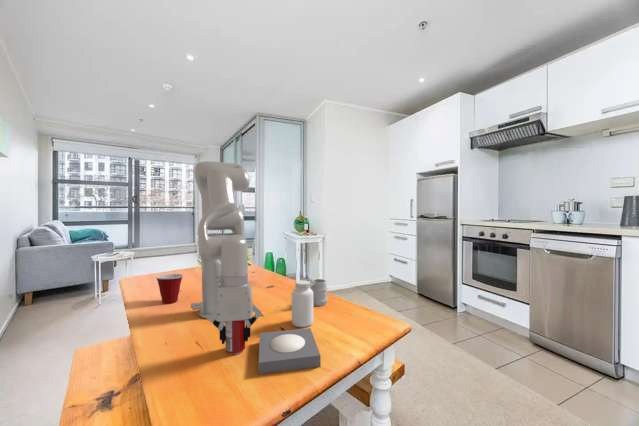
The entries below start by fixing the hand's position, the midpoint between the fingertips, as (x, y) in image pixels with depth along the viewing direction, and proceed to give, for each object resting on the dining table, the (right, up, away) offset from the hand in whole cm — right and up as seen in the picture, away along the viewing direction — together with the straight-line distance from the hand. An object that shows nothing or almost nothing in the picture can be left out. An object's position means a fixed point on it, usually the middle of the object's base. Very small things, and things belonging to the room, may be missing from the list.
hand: (235, 339), depth 78 cm
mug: (+23, -2, +36) cm, 43 cm away
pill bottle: (+19, -3, +18) cm, 26 cm away
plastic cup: (-42, -2, +40) cm, 58 cm away
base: (+16, -3, -2) cm, 16 cm away
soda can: (0, -3, 0) cm, 3 cm away
